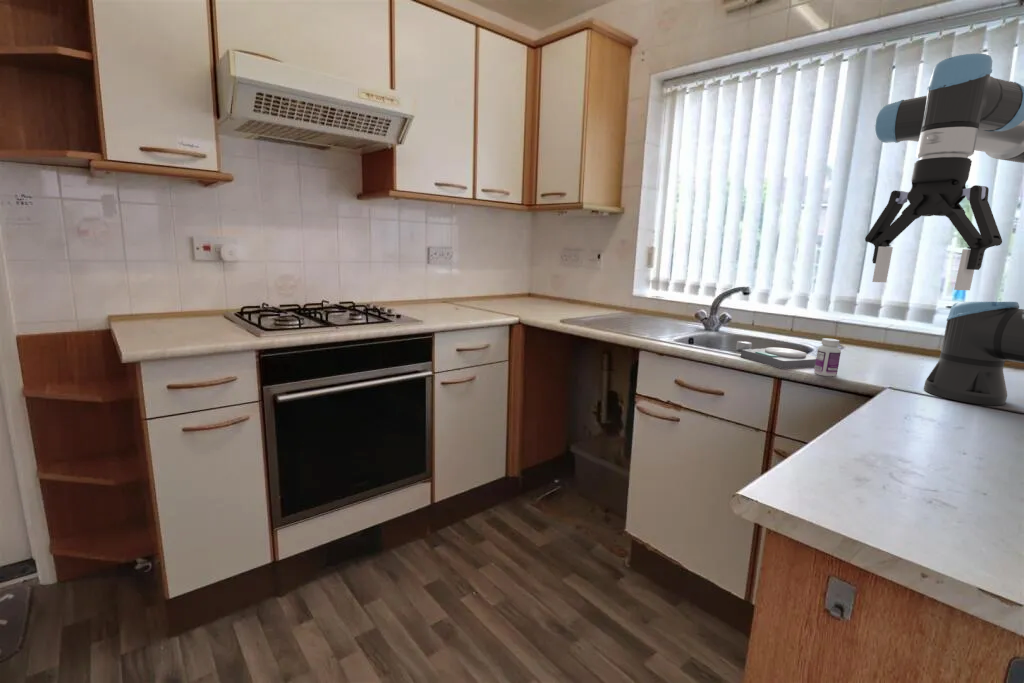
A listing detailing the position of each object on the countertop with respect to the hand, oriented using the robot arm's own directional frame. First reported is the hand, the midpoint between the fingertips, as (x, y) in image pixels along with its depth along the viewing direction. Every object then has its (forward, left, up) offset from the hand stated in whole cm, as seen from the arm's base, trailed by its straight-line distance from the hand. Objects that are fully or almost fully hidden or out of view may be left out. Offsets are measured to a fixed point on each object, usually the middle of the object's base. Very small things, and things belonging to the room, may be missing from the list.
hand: (917, 286), depth 91 cm
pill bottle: (-32, -36, -27) cm, 55 cm away
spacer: (-33, -65, -27) cm, 78 cm away
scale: (-33, -51, -27) cm, 66 cm away
